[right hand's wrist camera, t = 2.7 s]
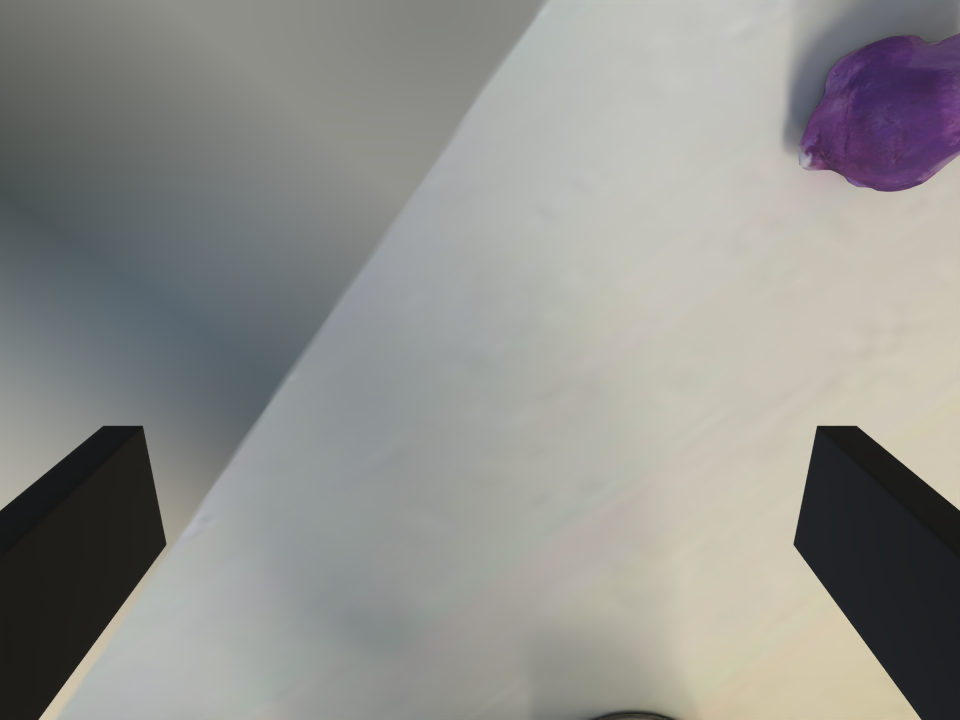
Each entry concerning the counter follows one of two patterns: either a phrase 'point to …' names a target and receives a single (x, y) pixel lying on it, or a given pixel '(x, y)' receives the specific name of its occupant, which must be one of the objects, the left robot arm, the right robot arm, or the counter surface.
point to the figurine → (888, 114)
